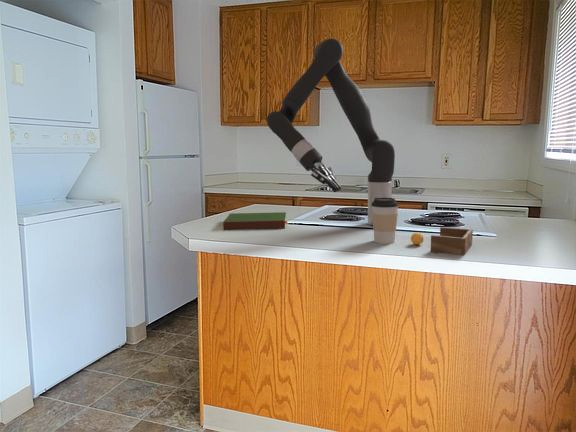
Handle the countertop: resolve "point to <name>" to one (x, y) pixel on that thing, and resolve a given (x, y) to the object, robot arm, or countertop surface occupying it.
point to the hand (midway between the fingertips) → (338, 190)
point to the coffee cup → (384, 219)
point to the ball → (417, 238)
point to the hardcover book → (255, 221)
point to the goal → (452, 241)
